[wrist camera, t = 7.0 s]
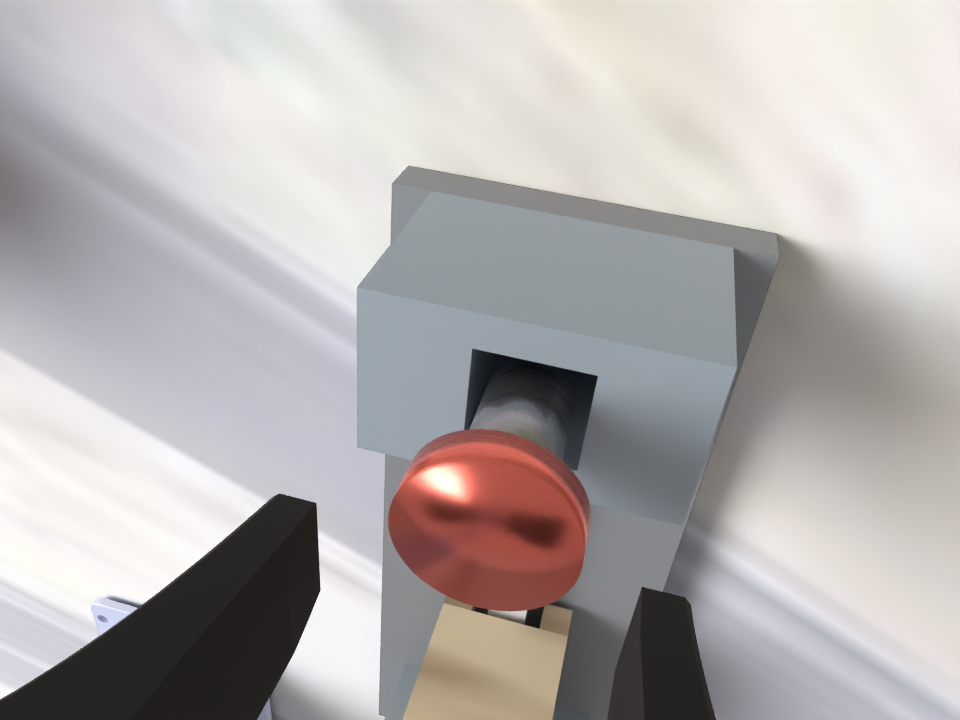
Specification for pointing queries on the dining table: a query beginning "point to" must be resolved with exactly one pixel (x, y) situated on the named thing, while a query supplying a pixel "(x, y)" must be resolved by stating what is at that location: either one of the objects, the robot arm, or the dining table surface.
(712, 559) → the dining table surface
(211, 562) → the robot arm
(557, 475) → the gauge plunger
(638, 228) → the rail bench
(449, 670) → the carriage
